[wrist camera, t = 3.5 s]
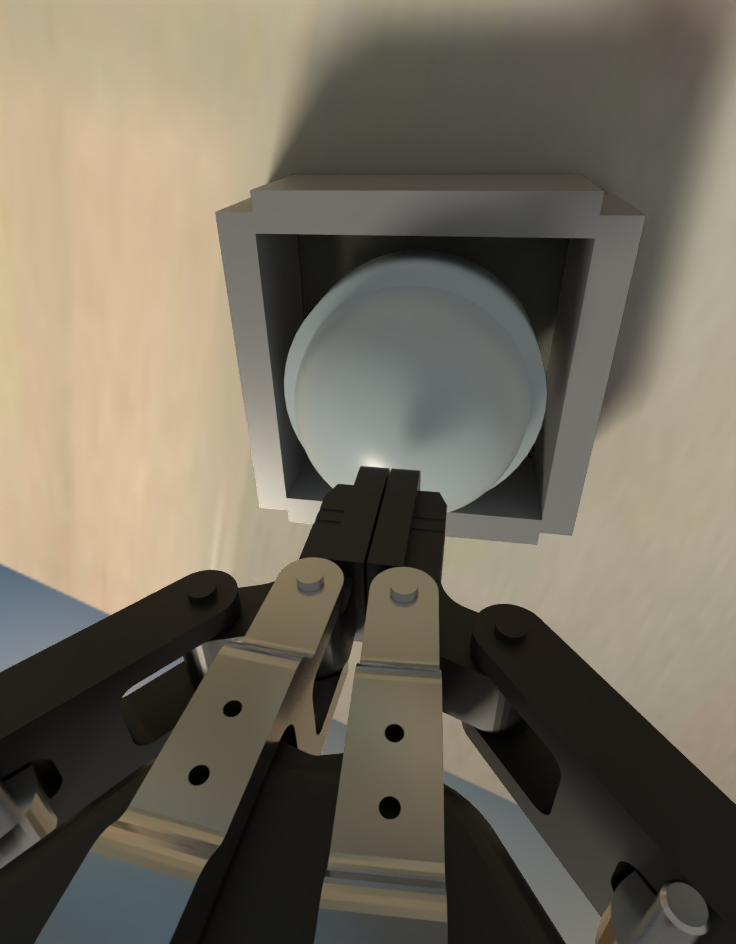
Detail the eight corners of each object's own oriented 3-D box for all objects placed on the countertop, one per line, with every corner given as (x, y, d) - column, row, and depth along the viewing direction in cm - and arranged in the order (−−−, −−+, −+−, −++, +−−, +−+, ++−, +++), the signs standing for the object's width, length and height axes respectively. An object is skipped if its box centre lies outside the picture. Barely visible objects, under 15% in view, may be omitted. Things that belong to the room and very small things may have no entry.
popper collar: (291, 462, 27) (261, 519, 24) (260, 174, 21) (211, 189, 17) (556, 483, 26) (569, 547, 22) (617, 173, 19) (651, 191, 15)
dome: (319, 448, 25) (263, 565, 18) (303, 239, 20) (222, 301, 14) (521, 462, 23) (534, 594, 17) (554, 243, 19) (591, 313, 12)
